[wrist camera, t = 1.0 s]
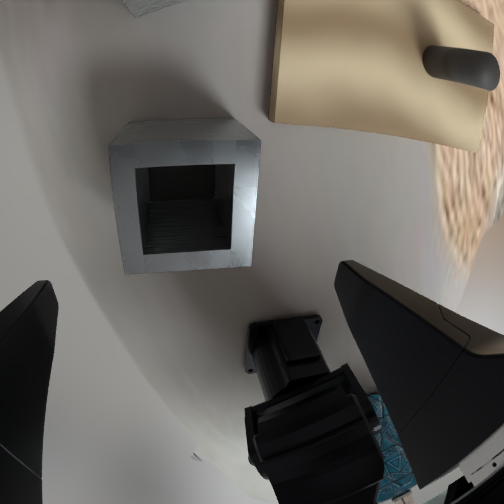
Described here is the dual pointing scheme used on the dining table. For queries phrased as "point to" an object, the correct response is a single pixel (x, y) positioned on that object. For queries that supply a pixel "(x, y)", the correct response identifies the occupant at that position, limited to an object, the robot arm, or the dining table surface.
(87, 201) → the dining table surface
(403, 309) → the robot arm
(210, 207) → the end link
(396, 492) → the lamp
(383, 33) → the board
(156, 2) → the grey open cube box
